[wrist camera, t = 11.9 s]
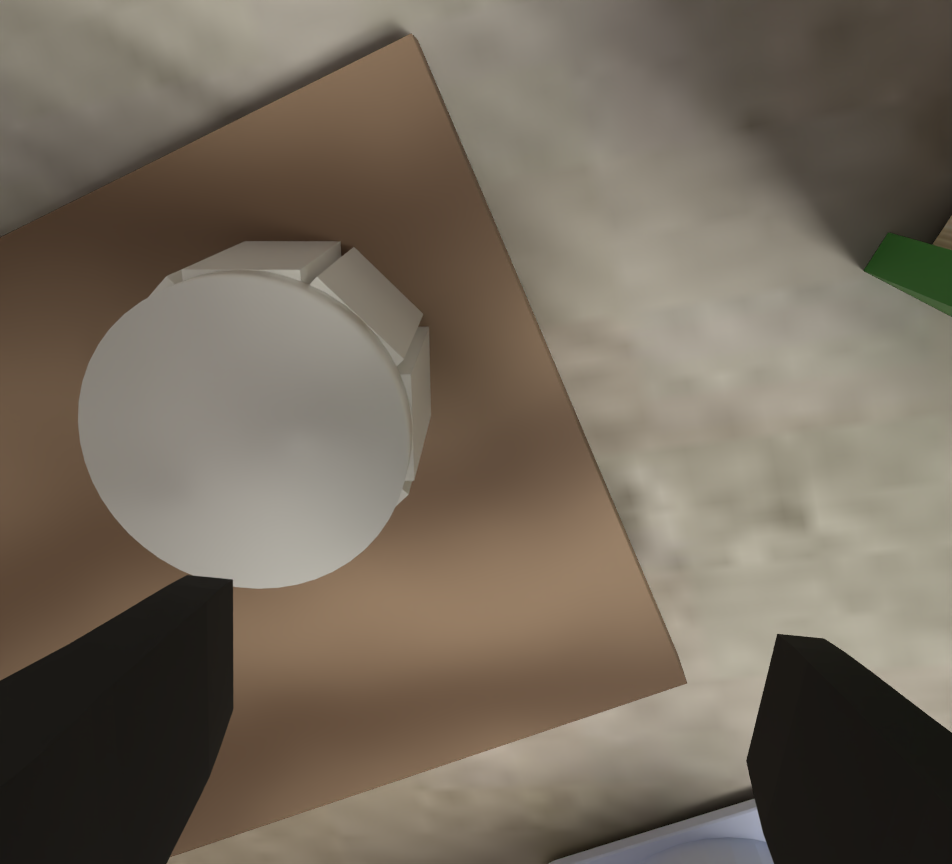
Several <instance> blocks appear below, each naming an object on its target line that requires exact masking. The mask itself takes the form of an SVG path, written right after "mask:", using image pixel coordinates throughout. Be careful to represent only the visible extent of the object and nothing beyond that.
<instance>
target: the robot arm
mask: <svg viewBox="0 0 952 864" xmlns="http://www.w3.org/2000/svg"><path fill="white" fill-rule="evenodd" d="M233 709H234V707H233V579H223V578H213V577H203V576H193V575H186V576H184V577H182V578H180V579H178V580H176V581H175V582H173V583H171V584H169V585H167V586H166V587H164V588H162V589H161V590H159V591H157V592H155V593H154V594H152V595H150V596H149V597H147V598H145V599H144V600H142V601H140V602H139V603H137V604H136V605H134V606H132V607H131V608H129V609H127V610H126V611H124V612H122V613H121V614H119V615H117V616H116V617H114V618H112V619H110V620H109V621H107V622H105V623H104V624H102V625H100V626H99V627H97V628H95V629H93V630H92V631H90V632H88V633H87V634H85V635H83V636H82V637H80V638H78V639H76V640H75V641H73V642H71V643H70V644H68V645H66V646H64V647H62V648H60V649H59V650H57V651H55V652H53V653H51V654H49V655H47V656H45V657H44V658H42V659H40V660H38V661H36V662H34V663H32V664H30V665H29V666H27V667H25V668H23V669H21V670H19V671H17V672H15V673H14V674H12V675H10V676H8V677H6V678H4V679H2V680H0V864H166V863H167V861H168V859H169V857H170V855H171V853H172V851H173V850H174V848H175V846H176V844H177V842H178V840H179V838H180V836H181V834H182V832H183V830H184V828H185V826H186V824H187V822H188V820H189V818H190V816H191V814H192V812H193V810H194V808H195V806H196V804H197V802H198V800H199V798H200V796H201V794H202V792H203V790H204V788H205V786H206V784H207V782H208V779H209V777H210V775H211V772H212V769H213V766H214V764H215V761H216V758H217V755H218V753H219V750H220V747H221V744H222V741H223V738H224V736H225V733H226V730H227V727H228V724H229V721H230V718H231V715H232V712H233ZM746 761H747V766H748V770H749V775H750V780H751V784H752V789H753V794H754V798H755V799H751V800H748V801H745V802H742V803H738V804H735V805H732V806H729V807H725V808H722V809H719V810H716V811H712V812H709V813H706V814H703V815H699V816H696V817H693V818H690V819H687V820H683V821H680V822H677V823H674V824H670V825H667V826H664V827H661V828H657V829H654V830H651V831H648V832H644V833H641V834H638V835H635V836H631V837H628V838H625V839H622V840H619V841H615V842H612V843H609V844H606V845H602V846H599V847H596V848H593V849H589V850H586V851H583V852H580V853H576V854H573V855H570V856H567V857H563V858H560V859H557V860H554V861H552V862H550V863H548V864H952V733H951V732H950V731H949V730H947V729H946V728H945V727H943V726H942V725H941V724H939V723H938V722H937V721H935V720H934V719H933V718H931V717H930V716H929V715H927V714H926V713H925V712H923V711H922V710H921V709H919V708H918V707H917V706H915V705H914V704H913V703H912V702H910V701H909V700H908V699H906V698H905V697H904V696H902V695H901V694H900V693H898V692H897V691H896V690H895V689H893V688H892V687H891V686H889V685H888V684H887V683H885V682H884V681H883V680H881V679H880V678H879V677H878V676H876V675H875V674H874V673H872V672H871V671H870V670H868V669H867V668H866V667H864V666H863V665H862V664H860V663H859V662H858V661H856V660H855V659H854V658H852V657H851V656H849V655H848V654H847V653H845V652H844V651H842V650H841V649H839V648H838V647H836V646H835V645H833V644H832V643H830V642H829V641H827V640H825V639H823V638H813V637H803V636H793V635H783V634H777V638H776V642H775V646H774V650H773V654H772V658H771V662H770V666H769V670H768V674H767V679H766V683H765V687H764V691H763V695H762V699H761V703H760V707H759V711H758V715H757V719H756V724H755V728H754V732H753V736H752V740H751V744H750V748H749V752H748V756H747V760H746Z"/></svg>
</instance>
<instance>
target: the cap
mask: <svg viewBox="0 0 952 864" xmlns="http://www.w3.org/2000/svg"><path fill="white" fill-rule="evenodd" d="M422 316H423V313H422V312H421V311H420V310H419V309H418V308H417V307H416V306H415V305H414V304H412V303H411V302H410V301H409V300H408V299H407V298H406V297H405V296H404V295H403V294H402V293H401V292H400V291H399V290H398V289H397V288H396V287H395V286H394V285H393V284H392V283H391V282H390V281H389V280H388V279H387V278H386V277H385V276H384V275H383V274H382V273H380V272H379V271H378V270H377V269H376V268H375V267H374V266H373V265H372V264H371V263H370V262H369V261H368V260H367V259H366V258H365V257H364V256H363V255H362V254H361V253H360V252H359V251H358V250H357V249H356V248H355V247H353V248H352V249H350V250H349V251H348V252H347V253H345V254H344V255H343V256H342V257H341V241H244V242H242V243H240V244H237V245H235V246H233V247H231V248H228V249H226V250H224V251H222V252H219V253H217V254H215V255H213V256H210V257H208V258H206V259H204V260H201V261H199V262H197V263H195V264H193V265H190V266H188V267H186V268H184V269H181V270H179V271H177V272H175V273H172V274H170V275H168V276H166V277H165V278H164V279H163V281H162V282H161V283H160V284H159V285H158V286H157V288H156V289H155V290H154V291H153V292H152V293H151V294H150V296H149V297H148V298H146V299H145V300H143V301H141V302H140V303H138V304H137V305H136V306H134V307H133V308H132V309H130V310H129V311H128V312H126V313H125V314H124V315H123V316H122V317H121V318H120V319H119V320H118V321H117V322H116V323H115V324H114V325H113V326H112V327H111V328H110V329H109V330H108V332H107V333H106V335H105V336H104V337H103V339H102V340H101V341H100V343H99V344H98V346H97V348H96V350H95V352H94V354H93V355H92V357H91V359H90V361H89V363H88V366H87V369H86V372H85V375H84V378H83V381H82V386H81V392H80V397H79V406H78V427H79V437H80V444H81V448H82V452H83V456H84V461H85V464H86V466H87V469H88V472H89V474H90V477H91V479H92V482H93V484H94V486H95V488H96V489H97V491H98V493H99V495H100V497H101V499H102V500H103V502H104V503H105V505H106V506H107V508H108V509H109V511H110V512H111V513H112V515H113V516H114V518H115V519H116V520H117V521H118V522H119V523H120V524H121V526H122V527H123V528H124V529H125V530H126V531H127V532H128V533H129V534H130V535H131V536H132V537H133V538H134V539H135V540H136V541H138V542H139V543H140V544H141V545H142V546H143V547H144V548H146V549H147V550H149V551H150V552H151V553H153V554H154V555H156V556H157V557H158V558H160V559H161V560H163V561H165V562H167V563H168V564H170V565H172V566H174V567H175V568H177V569H179V570H181V571H184V572H186V573H188V574H191V575H193V576H203V577H213V578H223V579H233V587H241V588H255V589H263V588H280V587H286V586H292V585H298V584H301V583H305V582H308V581H311V580H315V579H317V578H320V577H322V576H324V575H327V574H329V573H331V572H333V571H335V570H337V569H338V568H340V567H342V566H343V565H345V564H347V563H348V562H350V561H351V560H352V559H354V558H355V557H356V556H357V555H359V554H360V553H361V552H362V551H364V550H365V549H366V548H367V547H368V546H369V545H370V543H371V542H372V541H373V540H374V539H375V538H376V537H377V536H378V535H379V533H380V532H381V530H382V529H383V528H384V526H385V525H386V523H387V522H388V520H389V519H390V517H391V515H392V513H393V511H394V509H395V507H396V506H397V505H398V504H399V503H400V502H401V501H402V500H403V499H404V498H405V497H406V496H408V495H409V491H410V487H411V483H412V481H414V480H415V476H416V472H417V468H418V464H419V460H420V456H421V453H422V449H423V445H424V441H425V437H426V433H427V429H428V425H429V421H430V417H431V392H430V348H429V327H418V326H419V323H420V321H421V319H422Z"/></svg>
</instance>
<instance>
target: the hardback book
mask: <svg viewBox="0 0 952 864" xmlns="http://www.w3.org/2000/svg"><path fill="white" fill-rule="evenodd" d="M864 271H865V272H867V273H869V274H871V275H872V276H874V277H876V278H878V279H880V280H882V281H884V282H886V283H888V284H890V285H892V286H894V287H895V288H897V289H899V290H901V291H903V292H905V293H907V294H909V295H911V296H913V297H915V298H917V299H919V300H920V301H922V302H924V303H926V304H928V305H930V306H932V307H934V308H936V309H938V310H940V311H942V312H943V313H945V314H947V315H949V316H951V317H952V216H951V217H950V219H949V220H948V222H947V223H946V225H945V226H944V228H943V229H942V231H941V232H940V234H939V235H938V237H937V238H936V240H935V242H934V243H933V245H932V244H928V243H925V242H921V241H918V240H914V239H910V238H907V237H903V236H900V235H896V234H893V233H889V232H888V234H887V235H886V237H885V238H884V240H883V241H882V243H881V244H880V246H879V248H878V249H877V251H876V252H875V254H874V255H873V257H872V258H871V260H870V262H869V263H868V265H867V266H866V268H865V269H864Z"/></svg>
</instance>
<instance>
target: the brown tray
mask: <svg viewBox="0 0 952 864" xmlns="http://www.w3.org/2000/svg"><path fill="white" fill-rule="evenodd" d="M244 241H341V257H342V256H343V255H344V254H345V253H347V252H348V251H349V250H350V249H352V248H353V247H355V248H356V249H357V250H358V251H359V252H360V253H361V254H362V255H363V256H364V257H365V258H366V259H367V260H368V261H369V262H370V263H371V264H372V265H373V266H374V267H375V268H376V269H377V270H378V271H379V272H380V273H382V274H383V275H384V276H385V277H386V278H387V279H388V280H389V281H390V282H391V283H392V284H393V285H394V286H395V287H396V288H397V289H398V290H399V291H400V292H401V293H402V294H403V295H404V296H405V297H406V298H407V299H408V300H409V301H410V302H411V303H412V304H414V305H415V306H416V307H417V308H418V309H419V310H420V311H421V312H422V313H423V316H422V319H421V321H420V323H419V326H418V327H429V348H430V392H431V417H430V421H429V425H428V429H427V433H426V437H425V441H424V445H423V449H422V453H421V456H420V460H419V464H418V468H417V472H416V476H415V480H414V481H412V483H411V487H410V491H409V495H408V496H406V497H405V498H404V499H403V500H402V501H401V502H400V503H399V504H398V505H397V506H396V507H395V509H394V511H393V513H392V515H391V517H390V519H389V520H388V522H387V523H386V525H385V526H384V528H383V529H382V530H381V532H380V533H379V535H378V536H377V537H376V538H375V539H374V540H373V541H372V542H371V543H370V545H369V546H368V547H367V548H366V549H365V550H364V551H362V552H361V553H360V554H359V555H357V556H356V557H355V558H354V559H352V560H351V561H350V562H348V563H347V564H345V565H343V566H342V567H340V568H338V569H337V570H335V571H333V572H331V573H329V574H327V575H324V576H322V577H320V578H317V579H315V580H311V581H308V582H305V583H301V584H298V585H292V586H286V587H280V588H263V589H255V588H241V587H233V707H234V709H233V712H232V715H231V718H230V721H229V724H228V727H227V730H226V733H225V736H224V738H223V741H222V744H221V747H220V750H219V753H218V755H217V758H216V761H215V764H214V766H213V769H212V772H211V775H210V777H209V779H208V782H207V784H206V786H205V788H204V790H203V792H202V794H201V796H200V798H199V800H198V802H197V804H196V806H195V808H194V810H193V812H192V814H191V816H190V818H189V820H188V822H187V824H186V826H185V828H184V830H183V832H182V834H181V836H180V838H179V840H178V842H177V844H176V846H175V848H174V850H173V851H172V853H171V855H170V857H172V856H175V855H178V854H181V853H184V852H187V851H190V850H193V849H196V848H199V847H202V846H205V845H208V844H211V843H213V842H216V841H219V840H222V839H225V838H228V837H231V836H234V835H237V834H240V833H243V832H246V831H249V830H252V829H255V828H258V827H261V826H264V825H267V824H270V823H273V822H276V821H279V820H282V819H285V818H288V817H291V816H294V815H297V814H300V813H303V812H306V811H309V810H312V809H315V808H318V807H321V806H324V805H326V804H329V803H332V802H335V801H338V800H341V799H344V798H347V797H350V796H353V795H356V794H359V793H362V792H365V791H368V790H371V789H374V788H377V787H380V786H383V785H386V784H389V783H392V782H395V781H398V780H401V779H404V778H407V777H410V776H413V775H416V774H419V773H422V772H425V771H428V770H431V769H434V768H437V767H439V766H442V765H445V764H448V763H451V762H454V761H457V760H460V759H463V758H466V757H469V756H472V755H475V754H478V753H481V752H484V751H487V750H490V749H493V748H496V747H499V746H502V745H505V744H508V743H511V742H514V741H517V740H520V739H523V738H526V737H529V736H532V735H535V734H538V733H541V732H544V731H547V730H550V729H552V728H555V727H558V726H561V725H564V724H567V723H570V722H573V721H576V720H579V719H582V718H585V717H588V716H591V715H594V714H597V713H600V712H603V711H606V710H609V709H612V708H615V707H618V706H621V705H624V704H627V703H630V702H633V701H636V700H639V699H642V698H645V697H648V696H651V695H654V694H657V693H660V692H663V691H665V690H668V689H671V688H674V687H677V686H680V685H683V684H686V683H687V681H686V678H685V675H684V672H683V669H682V666H681V663H680V660H679V657H678V654H677V652H676V649H675V647H674V644H673V642H672V640H671V637H670V635H669V633H668V630H667V628H666V626H665V623H664V621H663V618H662V616H661V614H660V611H659V609H658V607H657V604H656V602H655V600H654V597H653V595H652V592H651V590H650V588H649V585H648V583H647V581H646V578H645V576H644V574H643V571H642V569H641V566H640V564H639V562H638V559H637V557H636V555H635V552H634V550H633V548H632V545H631V543H630V540H629V538H628V536H627V533H626V531H625V529H624V526H623V524H622V522H621V519H620V517H619V514H618V512H617V510H616V507H615V505H614V503H613V500H612V498H611V496H610V493H609V491H608V488H607V486H606V484H605V481H604V479H603V477H602V474H601V472H600V470H599V467H598V465H597V463H596V460H595V458H594V455H593V453H592V451H591V448H590V446H589V444H588V441H587V439H586V437H585V434H584V432H583V429H582V427H581V425H580V422H579V420H578V418H577V415H576V413H575V411H574V408H573V406H572V403H571V401H570V399H569V396H568V394H567V392H566V389H565V387H564V385H563V382H562V380H561V377H560V375H559V373H558V370H557V368H556V366H555V363H554V361H553V359H552V356H551V354H550V351H549V349H548V347H547V344H546V342H545V340H544V337H543V335H542V333H541V330H540V328H539V325H538V323H537V321H536V318H535V316H534V314H533V311H532V309H531V307H530V304H529V302H528V300H527V297H526V295H525V292H524V290H523V288H522V285H521V283H520V281H519V278H518V276H517V274H516V271H515V269H514V266H513V264H512V262H511V259H510V257H509V255H508V252H507V250H506V248H505V245H504V243H503V240H502V238H501V236H500V233H499V231H498V229H497V226H496V224H495V222H494V219H493V217H492V214H491V212H490V210H489V207H488V205H487V203H486V200H485V198H484V196H483V193H482V191H481V188H480V186H479V184H478V181H477V179H476V177H475V174H474V172H473V170H472V167H471V165H470V162H469V160H468V158H467V155H466V153H465V151H464V148H463V146H462V144H461V141H460V139H459V136H458V134H457V132H456V129H455V127H454V125H453V122H452V120H451V118H450V115H449V113H448V111H447V108H446V106H445V103H444V101H443V99H442V96H441V94H440V92H439V89H438V87H437V85H436V82H435V80H434V77H433V75H432V73H431V70H430V68H429V66H428V63H427V61H426V59H425V56H424V54H423V51H422V49H421V47H420V44H419V42H418V40H417V39H416V38H415V37H414V36H413V35H412V34H409V35H407V36H405V37H403V38H401V39H399V40H397V41H395V42H393V43H391V44H389V45H387V46H385V47H383V48H381V49H379V50H377V51H375V52H373V53H371V54H369V55H367V56H365V57H363V58H361V59H359V60H357V61H355V62H353V63H351V64H349V65H347V66H345V67H343V68H341V69H339V70H337V71H335V72H333V73H331V74H329V75H327V76H325V77H323V78H320V79H318V80H316V81H314V82H312V83H310V84H308V85H306V86H304V87H302V88H300V89H298V90H296V91H294V92H292V93H290V94H288V95H286V96H284V97H282V98H280V99H278V100H276V101H274V102H272V103H270V104H268V105H266V106H264V107H262V108H260V109H258V110H256V111H254V112H252V113H250V114H248V115H246V116H244V117H242V118H240V119H238V120H236V121H234V122H232V123H230V124H228V125H226V126H224V127H222V128H220V129H218V130H216V131H214V132H212V133H210V134H208V135H206V136H204V137H202V138H200V139H197V140H195V141H193V142H191V143H189V144H187V145H185V146H183V147H181V148H179V149H177V150H175V151H173V152H171V153H169V154H167V155H165V156H163V157H161V158H159V159H157V160H155V161H153V162H151V163H149V164H147V165H145V166H143V167H141V168H139V169H137V170H135V171H133V172H131V173H129V174H127V175H125V176H123V177H121V178H119V179H117V180H115V181H113V182H111V183H109V184H107V185H105V186H103V187H101V188H99V189H97V190H95V191H93V192H91V193H89V194H87V195H85V196H83V197H81V198H79V199H77V200H75V201H72V202H70V203H68V204H66V205H64V206H62V207H60V208H58V209H56V210H54V211H52V212H50V213H48V214H46V215H44V216H42V217H40V218H38V219H36V220H34V221H32V222H30V223H28V224H26V225H24V226H22V227H20V228H18V229H16V230H14V231H12V232H10V233H8V234H6V235H4V236H2V237H0V680H2V679H4V678H6V677H8V676H10V675H12V674H14V673H15V672H17V671H19V670H21V669H23V668H25V667H27V666H29V665H30V664H32V663H34V662H36V661H38V660H40V659H42V658H44V657H45V656H47V655H49V654H51V653H53V652H55V651H57V650H59V649H60V648H62V647H64V646H66V645H68V644H70V643H71V642H73V641H75V640H76V639H78V638H80V637H82V636H83V635H85V634H87V633H88V632H90V631H92V630H93V629H95V628H97V627H99V626H100V625H102V624H104V623H105V622H107V621H109V620H110V619H112V618H114V617H116V616H117V615H119V614H121V613H122V612H124V611H126V610H127V609H129V608H131V607H132V606H134V605H136V604H137V603H139V602H140V601H142V600H144V599H145V598H147V597H149V596H150V595H152V594H154V593H155V592H157V591H159V590H161V589H162V588H164V587H166V586H167V585H169V584H171V583H173V582H175V581H176V580H178V579H180V578H182V577H184V576H186V575H191V574H188V573H186V572H184V571H181V570H179V569H177V568H175V567H174V566H172V565H170V564H168V563H167V562H165V561H163V560H161V559H160V558H158V557H157V556H156V555H154V554H153V553H151V552H150V551H149V550H147V549H146V548H144V547H143V546H142V545H141V544H140V543H139V542H138V541H136V540H135V539H134V538H133V537H132V536H131V535H130V534H129V533H128V532H127V531H126V530H125V529H124V528H123V527H122V526H121V524H120V523H119V522H118V521H117V520H116V519H115V518H114V516H113V515H112V513H111V512H110V511H109V509H108V508H107V506H106V505H105V503H104V502H103V500H102V499H101V497H100V495H99V493H98V491H97V489H96V488H95V486H94V484H93V482H92V479H91V477H90V474H89V472H88V469H87V466H86V464H85V461H84V456H83V452H82V448H81V444H80V437H79V427H78V406H79V397H80V392H81V386H82V381H83V378H84V375H85V372H86V369H87V366H88V363H89V361H90V359H91V357H92V355H93V354H94V352H95V350H96V348H97V346H98V344H99V343H100V341H101V340H102V339H103V337H104V336H105V335H106V333H107V332H108V330H109V329H110V328H111V327H112V326H113V325H114V324H115V323H116V322H117V321H118V320H119V319H120V318H121V317H122V316H123V315H124V314H125V313H126V312H128V311H129V310H130V309H132V308H133V307H134V306H136V305H137V304H138V303H140V302H141V301H143V300H145V299H146V298H148V297H149V296H150V294H151V293H152V292H153V291H154V290H155V289H156V288H157V286H158V285H159V284H160V283H161V282H162V281H163V279H164V278H165V277H166V276H168V275H170V274H172V273H175V272H177V271H179V270H181V269H184V268H186V267H188V266H190V265H193V264H195V263H197V262H199V261H201V260H204V259H206V258H208V257H210V256H213V255H215V254H217V253H219V252H222V251H224V250H226V249H228V248H231V247H233V246H235V245H237V244H240V243H242V242H244Z"/></svg>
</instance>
